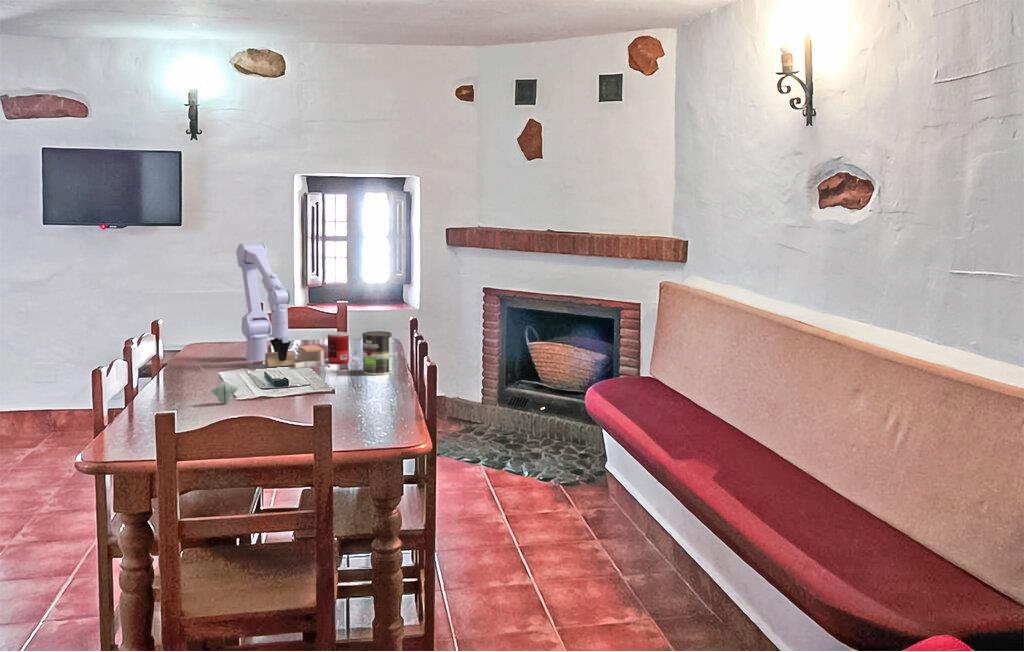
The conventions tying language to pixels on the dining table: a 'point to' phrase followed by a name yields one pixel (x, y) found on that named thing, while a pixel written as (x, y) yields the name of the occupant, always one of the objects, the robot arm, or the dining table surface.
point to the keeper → (302, 359)
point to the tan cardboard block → (274, 361)
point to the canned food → (338, 347)
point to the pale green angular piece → (224, 391)
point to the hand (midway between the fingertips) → (280, 359)
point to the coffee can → (377, 353)
